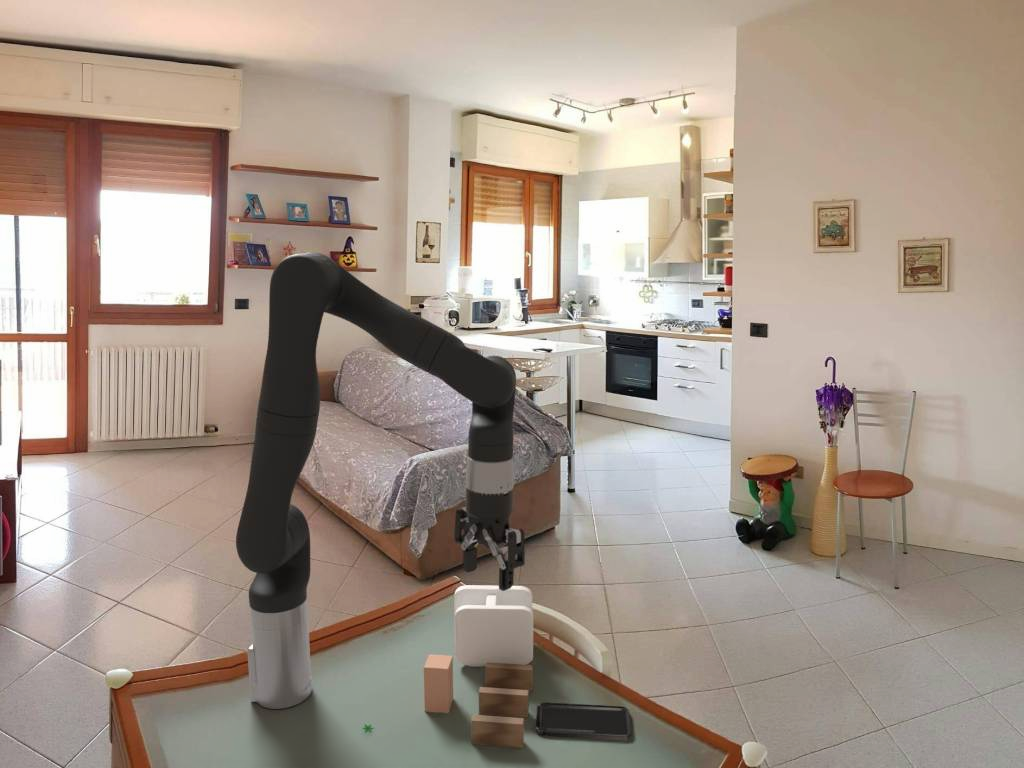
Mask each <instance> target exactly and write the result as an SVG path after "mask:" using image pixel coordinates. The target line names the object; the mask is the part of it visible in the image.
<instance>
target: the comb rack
mask: <svg viewBox="0 0 1024 768" xmlns="http://www.w3.org/2000/svg"><path fill="white" fill-rule="evenodd" d="M533 676H534V675H533V665H532V664H526V665H521V664H506V663H490V662H487V664H486V666H485V686H479V690H478V714H472V716H471V719H470V727H471V728H470V732H471V733H470V735H471V737H470V739H471V740H470V743H471V745H484V746H496V747H508V748H509V747H511V748H523V747H524V741H525V736H524V735H525V718H526V719H528V716H529V692H532V691H533Z"/></svg>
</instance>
